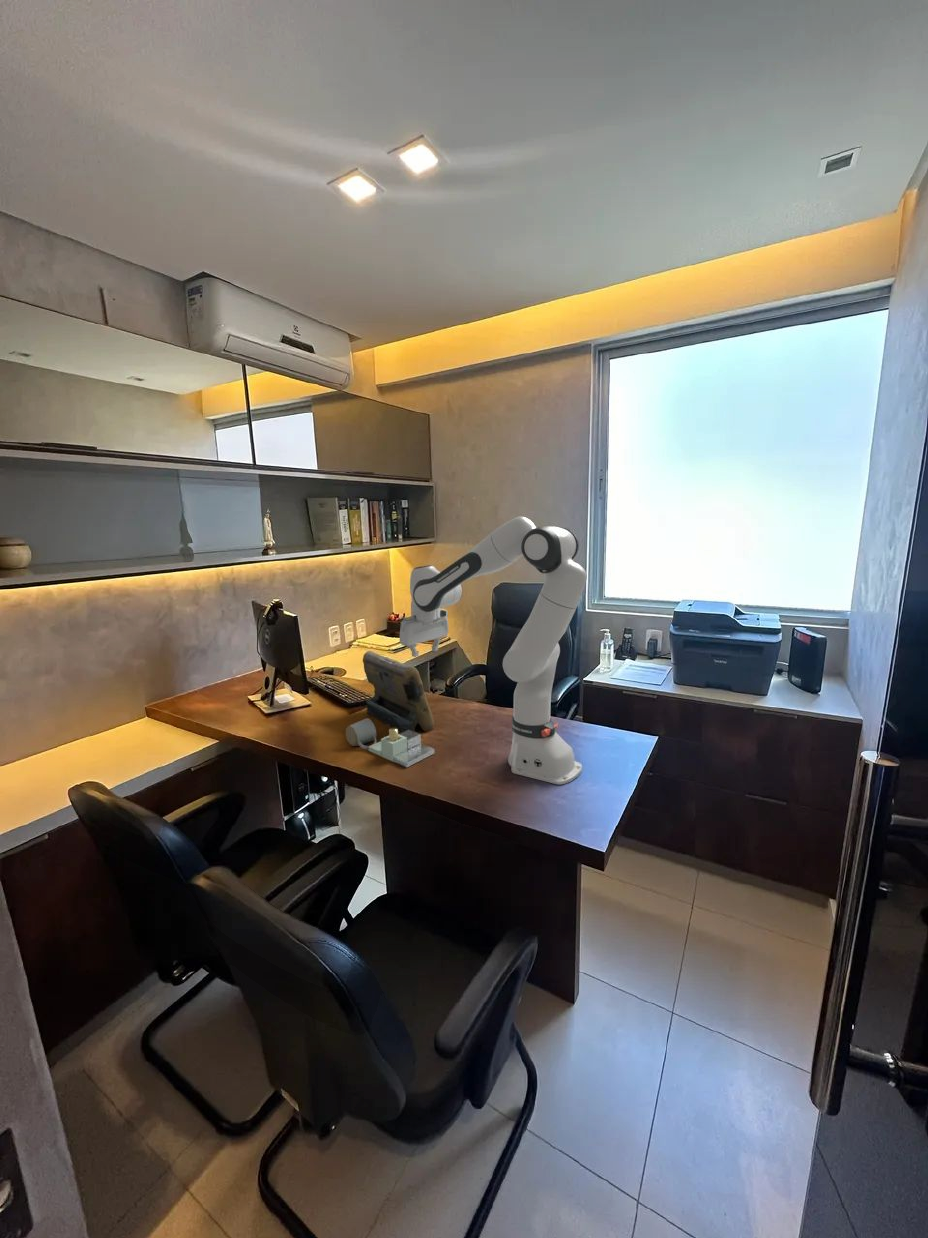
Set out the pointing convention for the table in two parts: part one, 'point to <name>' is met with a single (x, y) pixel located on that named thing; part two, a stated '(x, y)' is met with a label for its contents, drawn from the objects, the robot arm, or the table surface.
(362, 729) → the ceramic mug
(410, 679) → the tablet
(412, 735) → the sliding leaf
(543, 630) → the robot arm
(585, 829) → the table surface
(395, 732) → the hinge pin
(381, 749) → the green square socket base
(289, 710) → the table surface
